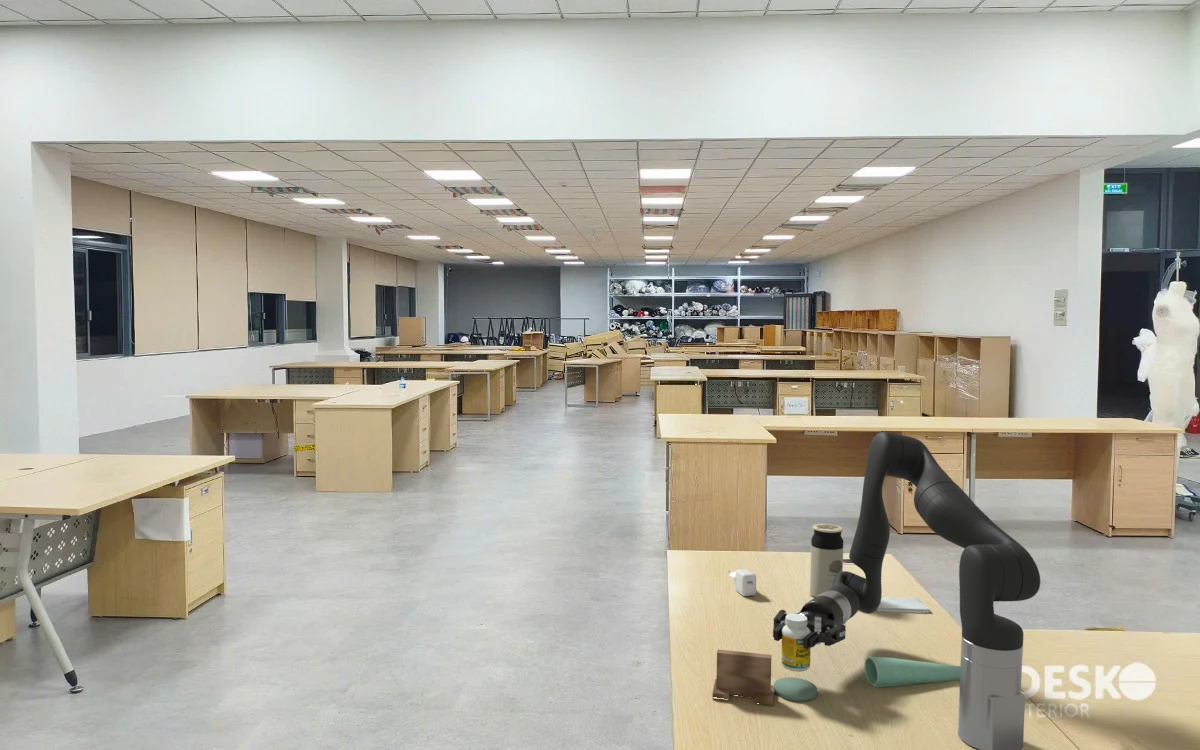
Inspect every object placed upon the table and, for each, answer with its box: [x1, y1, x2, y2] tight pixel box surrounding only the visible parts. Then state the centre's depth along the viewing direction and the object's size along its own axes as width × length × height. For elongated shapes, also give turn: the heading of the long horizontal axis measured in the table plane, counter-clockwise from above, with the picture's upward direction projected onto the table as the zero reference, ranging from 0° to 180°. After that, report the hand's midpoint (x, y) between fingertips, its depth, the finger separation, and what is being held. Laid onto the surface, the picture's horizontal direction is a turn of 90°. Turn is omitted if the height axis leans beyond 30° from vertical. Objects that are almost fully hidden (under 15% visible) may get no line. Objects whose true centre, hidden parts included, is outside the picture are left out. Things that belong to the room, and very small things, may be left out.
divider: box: [711, 649, 775, 707], centre depth 149 cm, size 11×6×8 cm, turn 77°
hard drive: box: [875, 596, 930, 614], centre depth 198 cm, size 2×8×12 cm
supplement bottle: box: [781, 613, 812, 673], centre depth 151 cm, size 5×5×10 cm
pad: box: [773, 676, 818, 703], centre depth 151 cm, size 8×8×1 cm
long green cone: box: [864, 655, 961, 688], centre depth 157 cm, size 5×6×27 cm
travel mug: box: [809, 523, 844, 598], centre depth 205 cm, size 8×8×18 cm
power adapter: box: [727, 568, 757, 597], centre depth 209 cm, size 11×5×6 cm, turn 13°
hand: (790, 639), depth 149 cm, fingers closed on supplement bottle, 5 cm apart
